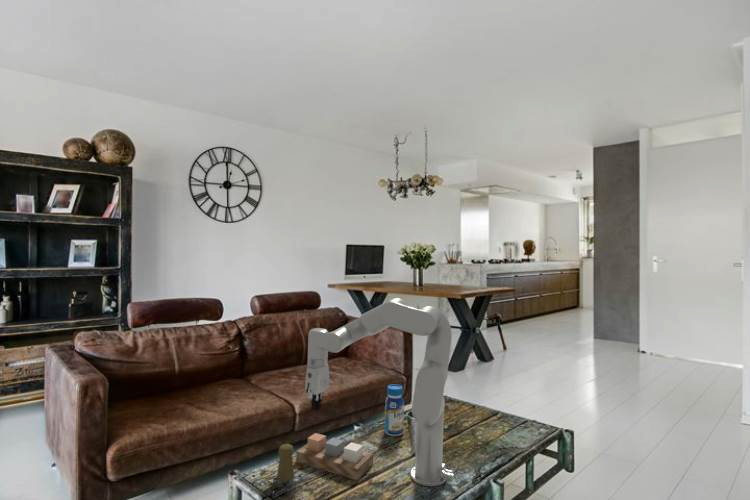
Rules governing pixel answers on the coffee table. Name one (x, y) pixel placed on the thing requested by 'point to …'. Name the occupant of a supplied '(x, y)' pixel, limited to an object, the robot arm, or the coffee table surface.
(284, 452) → the cork
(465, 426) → the coffee table surface
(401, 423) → the beverage bottle
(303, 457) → the wooden slotted tray
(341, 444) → the grey cube
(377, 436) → the coffee table surface
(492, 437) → the coffee table surface
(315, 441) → the key terracotta
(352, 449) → the key ivory
